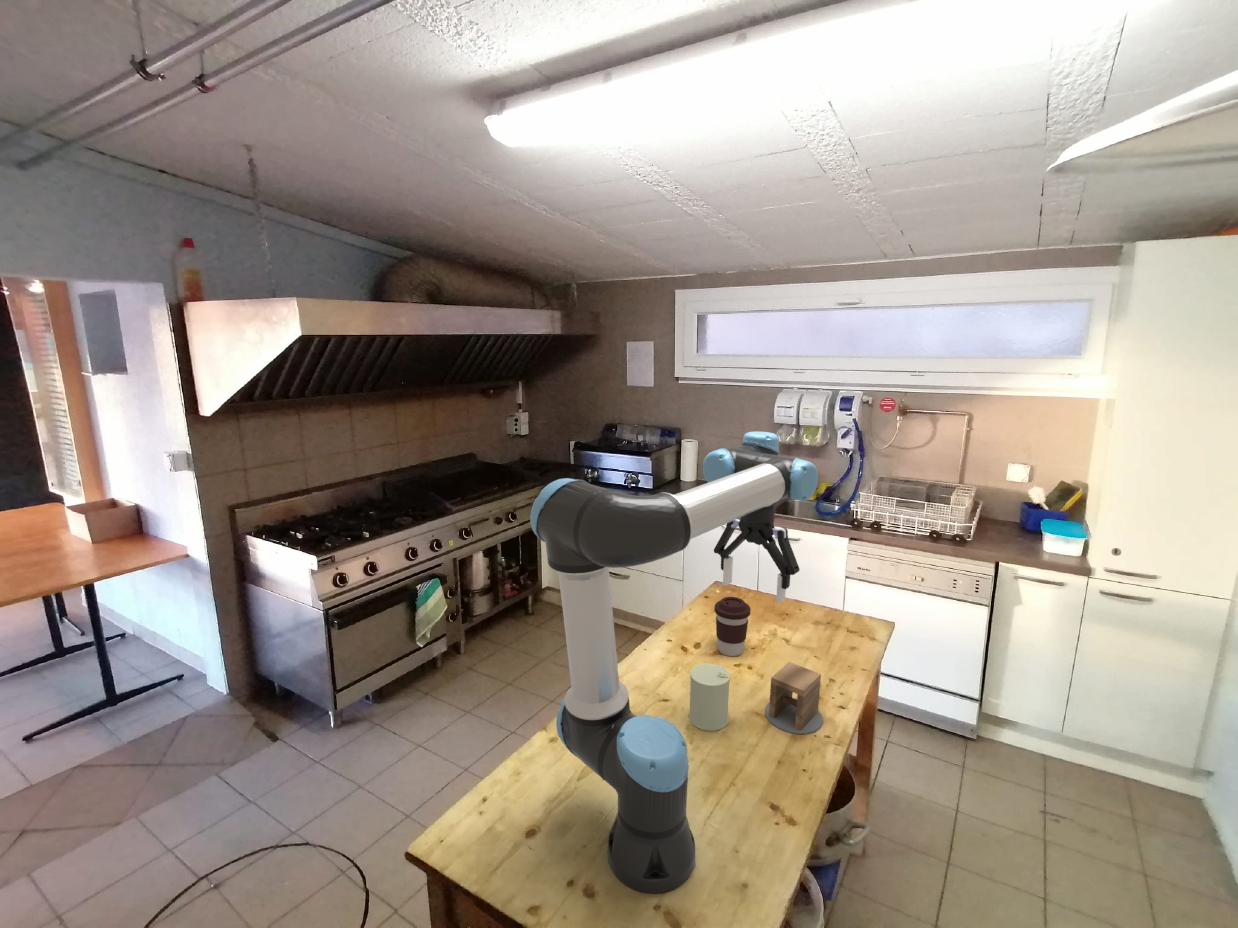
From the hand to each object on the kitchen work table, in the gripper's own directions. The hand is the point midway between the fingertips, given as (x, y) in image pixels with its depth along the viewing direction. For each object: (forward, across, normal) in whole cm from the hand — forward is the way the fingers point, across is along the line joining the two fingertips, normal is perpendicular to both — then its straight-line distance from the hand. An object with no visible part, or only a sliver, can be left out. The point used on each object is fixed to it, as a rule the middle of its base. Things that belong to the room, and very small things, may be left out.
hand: (753, 592), depth 134 cm
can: (+31, +6, +8) cm, 32 cm away
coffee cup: (+31, +18, -22) cm, 42 cm away
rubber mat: (+31, -9, -6) cm, 33 cm away
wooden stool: (+30, -9, -6) cm, 32 cm away
